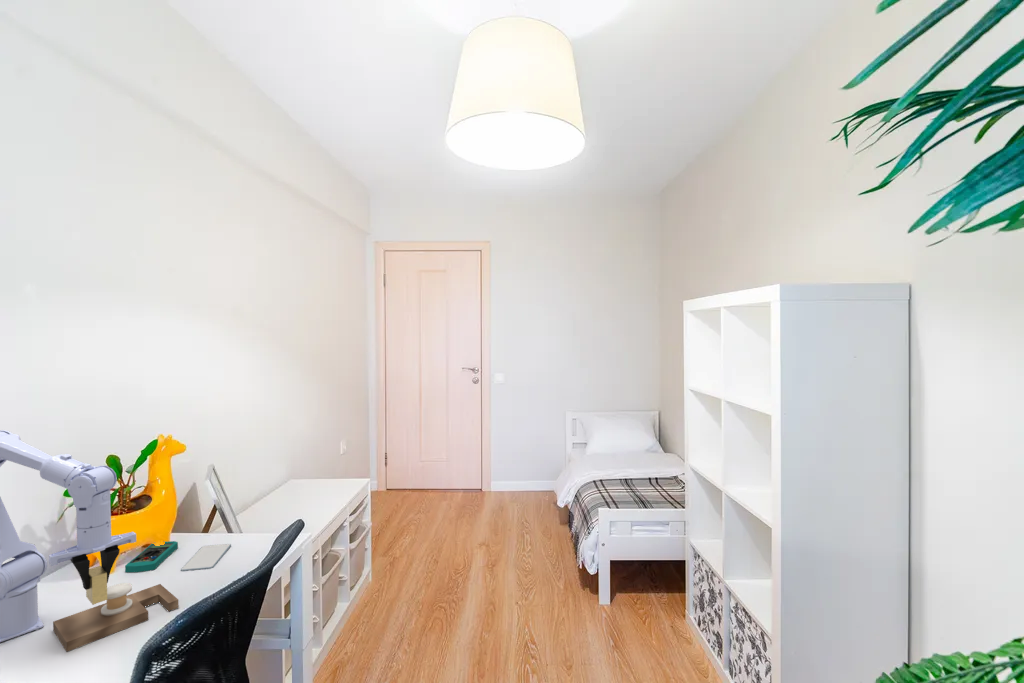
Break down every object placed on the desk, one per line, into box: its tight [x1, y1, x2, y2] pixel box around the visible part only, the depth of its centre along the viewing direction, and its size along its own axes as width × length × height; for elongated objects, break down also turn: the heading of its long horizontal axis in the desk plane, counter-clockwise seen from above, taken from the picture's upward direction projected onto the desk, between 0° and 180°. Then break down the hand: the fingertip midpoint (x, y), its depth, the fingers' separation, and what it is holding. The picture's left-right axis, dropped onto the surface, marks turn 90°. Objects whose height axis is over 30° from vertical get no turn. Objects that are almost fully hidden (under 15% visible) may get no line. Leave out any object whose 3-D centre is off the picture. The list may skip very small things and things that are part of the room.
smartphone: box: [180, 543, 232, 572], centre depth 142 cm, size 8×1×15 cm
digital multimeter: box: [124, 540, 179, 573], centre depth 140 cm, size 7×15×3 cm, turn 12°
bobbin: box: [101, 582, 133, 616], centre depth 112 cm, size 6×6×4 cm
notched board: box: [52, 583, 180, 652], centre depth 112 cm, size 20×12×2 cm, turn 143°
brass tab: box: [85, 565, 108, 606], centre depth 107 cm, size 2×5×6 cm, turn 53°
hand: (95, 584), depth 107 cm, fingers closed on brass tab, 2 cm apart
